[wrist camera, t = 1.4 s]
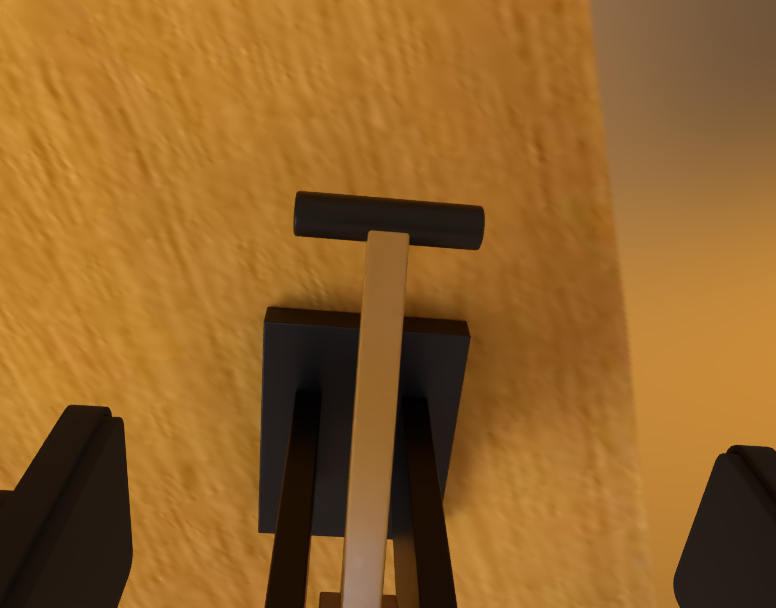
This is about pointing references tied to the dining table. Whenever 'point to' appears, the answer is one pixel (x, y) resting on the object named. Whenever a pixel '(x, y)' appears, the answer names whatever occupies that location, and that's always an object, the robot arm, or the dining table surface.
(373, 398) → the switch lever
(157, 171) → the dining table surface
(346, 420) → the switch bracket
